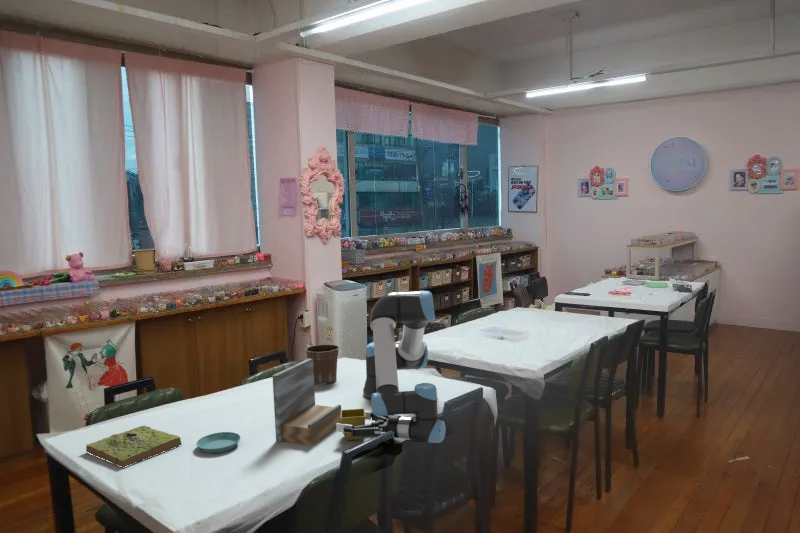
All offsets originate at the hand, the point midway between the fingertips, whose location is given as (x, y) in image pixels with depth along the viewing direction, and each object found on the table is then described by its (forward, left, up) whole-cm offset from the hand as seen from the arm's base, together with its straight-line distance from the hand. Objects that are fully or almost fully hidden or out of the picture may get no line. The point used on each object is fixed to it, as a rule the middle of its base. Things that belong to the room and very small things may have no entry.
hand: (345, 420), depth 208 cm
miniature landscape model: (+58, -46, -7) cm, 74 cm away
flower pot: (-1, +3, -6) cm, 7 cm away
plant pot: (-35, -64, -6) cm, 73 cm away
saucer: (+36, -26, -6) cm, 45 cm away
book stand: (+6, -14, -6) cm, 16 cm away
